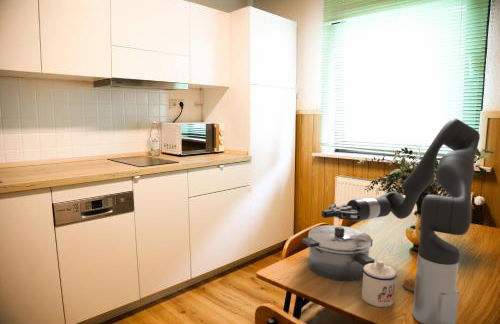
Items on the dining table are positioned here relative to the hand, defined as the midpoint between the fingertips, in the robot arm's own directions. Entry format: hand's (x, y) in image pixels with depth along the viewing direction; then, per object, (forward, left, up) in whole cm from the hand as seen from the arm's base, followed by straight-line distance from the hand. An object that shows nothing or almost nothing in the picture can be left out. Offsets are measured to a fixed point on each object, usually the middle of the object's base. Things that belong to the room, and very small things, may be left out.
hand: (322, 214), depth 113 cm
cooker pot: (0, -8, -20) cm, 22 cm away
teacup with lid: (-21, -6, -20) cm, 30 cm away
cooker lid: (0, -6, -10) cm, 11 cm away
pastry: (-22, -22, -21) cm, 37 cm away
